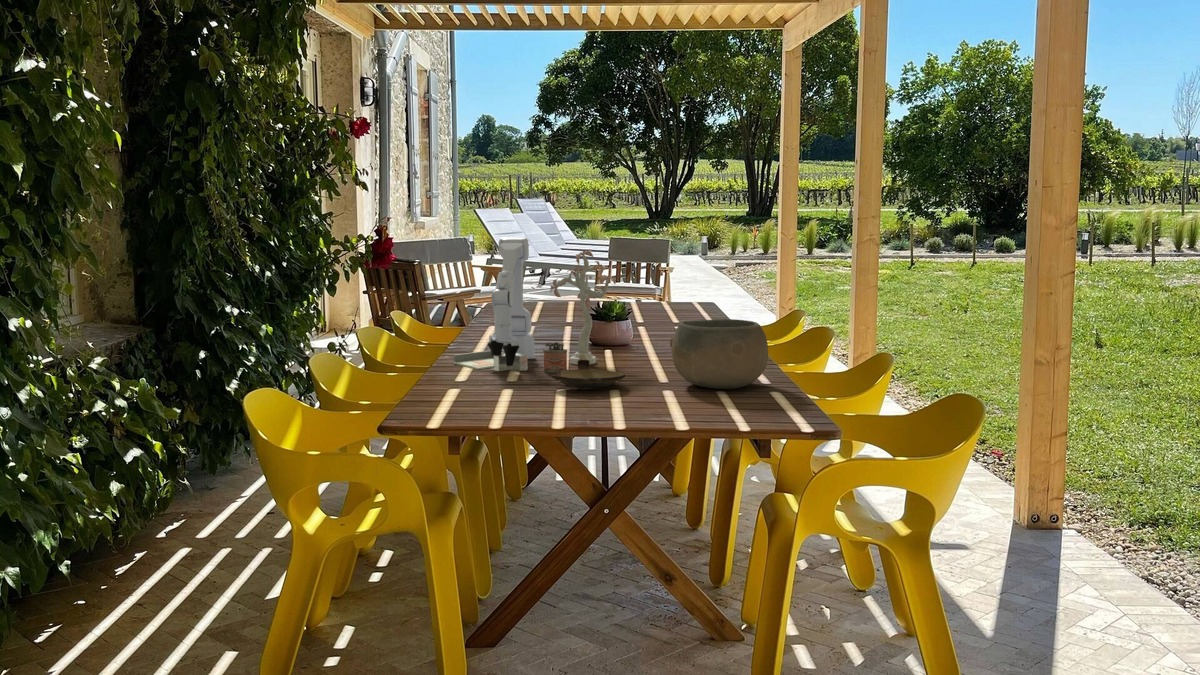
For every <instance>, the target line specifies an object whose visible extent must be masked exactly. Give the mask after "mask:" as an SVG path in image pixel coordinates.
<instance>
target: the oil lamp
mask: <svg viewBox="0 0 1200 675" xmlns="http://www.w3.org/2000/svg"><path fill="white" fill-rule="evenodd" d="M550 377H551V378H552V379H554V380H555V381H557V382H558V383H561V384H563V385H566V386H568V387H571V388H573V389H579V390H580V389H581V390H582V389H587V390H588V389H602V388H606V387H608V386H610V385H613V384H615V383H616V382H618V381H620V380H622V379H624V378H625V377H626V373H625V372H622V371H617V370H608V369H593V368H590V365H589V360H587V359H586V357H585V355H583V354H581V355H580V360H578V365H577V368H576V369H567V370H561V371H558V372H556V373H555V374H551V376H550Z"/></svg>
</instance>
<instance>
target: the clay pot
mask: <svg viewBox="0 0 1200 675" xmlns="http://www.w3.org/2000/svg"><path fill="white" fill-rule="evenodd" d="M669 347H670V348H671V355H672V362H673V365H674V367H675V370H676V371H677V372H678V374H679V375H680V376H681V377H682V378H683V379H684V380H685V382H688V383H690V384H692V385H694V386H697V387H703V388H707V389H714V390H733V389H740V388H744V387H746V386H748V385H750V384H752V383H754V382H756V380H758V378H760V377H761V375H762V374H764V372H765V370H766V368H767V365H768V361H769V346H768V338H767V335H766V333H765V331H764V329H763V328H762V326H761V325H760V324H759V323H758V322H757V321H753V320H748V319H747V320H745V319H735V318H734V319H732V318H730V319H726V318H725V319H724V318H723V319H722V318H721V319H718V318H717V319H715V318H714V319H699V320H698V319H697V320H682V321H680V323H679V324H678V326H677V327H676V328H675V331H674V335H673V336H671V338H670V342H669Z"/></svg>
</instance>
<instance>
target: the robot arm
mask: <svg viewBox="0 0 1200 675" xmlns="http://www.w3.org/2000/svg"><path fill="white" fill-rule="evenodd" d="M529 246H530V245H529V239H528V238H527V237H500V238H499V240H498V253H499V254H500V257H501V258H502V269H501V271H500V272H499V273H498V274H497V278H496V283H495V284H496V285H495V290H493V291H492V293H491V304H492V311H493V312H494V313H493V314H494V315H493V316H494V321H493V322H494V334H492V335H491V334H490V335H488V336H489V337H488V339H489V342H487V347H488V348H489V351H490V350H491V352H492V356H493V359H494V356H495V355H501V353H505V357H506V365H507V366H513V363H514V359H515V355H516V353H518V354H523V355H527V360H531V359H536V358H537V357H536V352H535V351H536V350H535V338H534V336H533V334H531V333H530V332H531V331H532V325H533V324H532V323H533V322H532V321H533V320H532V314H531V312H530V311H529V310H528V308H525V307H524V263H525V262H526V261H528V260H529V257H530V256H529V255H530V254H529ZM503 351H504V352H503Z"/></svg>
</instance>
